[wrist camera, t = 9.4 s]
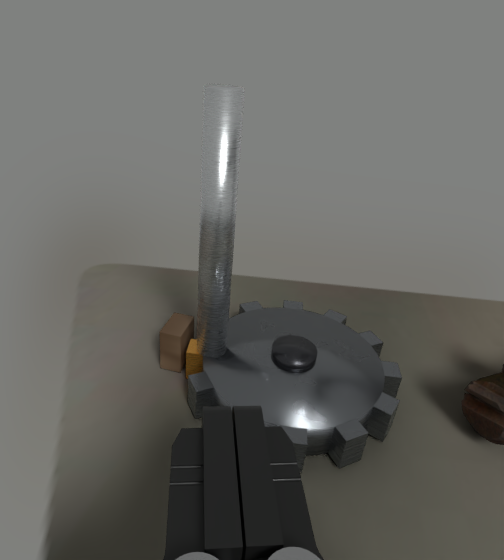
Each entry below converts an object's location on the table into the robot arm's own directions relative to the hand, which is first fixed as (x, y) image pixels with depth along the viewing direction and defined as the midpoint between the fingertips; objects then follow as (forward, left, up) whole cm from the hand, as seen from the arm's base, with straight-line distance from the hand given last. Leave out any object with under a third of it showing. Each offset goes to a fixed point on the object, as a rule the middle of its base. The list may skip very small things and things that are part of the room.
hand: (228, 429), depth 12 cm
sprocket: (-4, -10, -8) cm, 14 cm away
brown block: (+2, -12, -8) cm, 15 cm away
